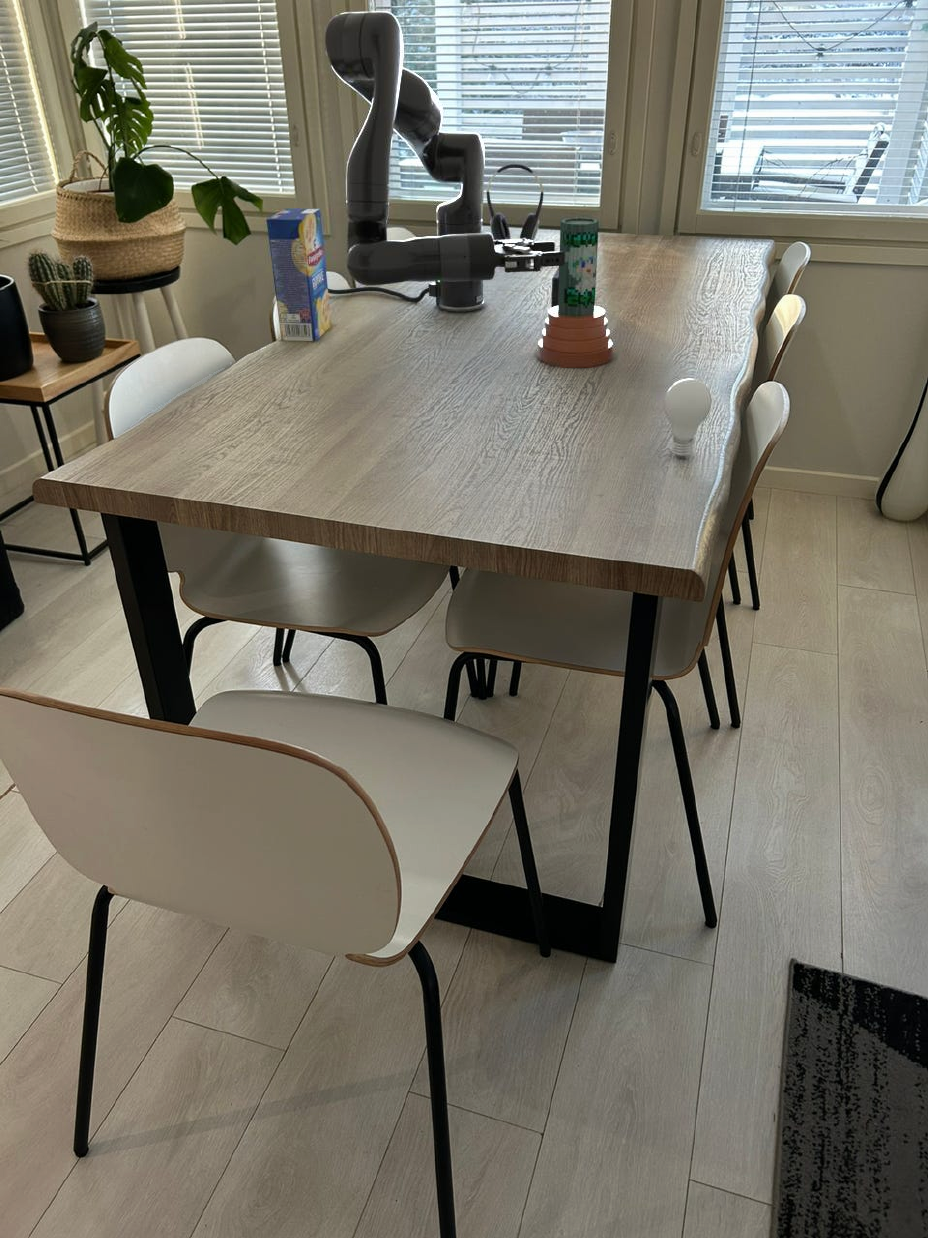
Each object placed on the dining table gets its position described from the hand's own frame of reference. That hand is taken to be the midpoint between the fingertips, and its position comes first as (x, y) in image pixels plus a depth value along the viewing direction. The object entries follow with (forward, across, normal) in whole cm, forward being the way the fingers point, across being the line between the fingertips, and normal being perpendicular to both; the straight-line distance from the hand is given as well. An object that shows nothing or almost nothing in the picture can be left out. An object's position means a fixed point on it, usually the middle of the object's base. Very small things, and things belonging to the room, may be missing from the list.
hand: (559, 252), depth 165 cm
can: (+3, 0, +10) cm, 11 cm away
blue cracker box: (-45, +25, +18) cm, 54 cm away
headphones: (+8, +93, +18) cm, 95 cm away
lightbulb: (+8, -47, +18) cm, 51 cm away
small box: (+6, +18, +18) cm, 27 cm away
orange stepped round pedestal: (+3, 0, +18) cm, 18 cm away
